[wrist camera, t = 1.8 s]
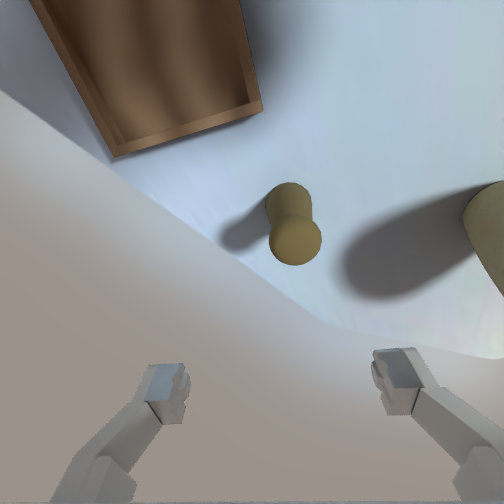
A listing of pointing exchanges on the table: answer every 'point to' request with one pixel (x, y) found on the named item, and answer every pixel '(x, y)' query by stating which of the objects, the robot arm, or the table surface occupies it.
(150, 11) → the walnut tray
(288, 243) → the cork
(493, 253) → the plant pot
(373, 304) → the table surface
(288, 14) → the table surface
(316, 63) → the table surface
